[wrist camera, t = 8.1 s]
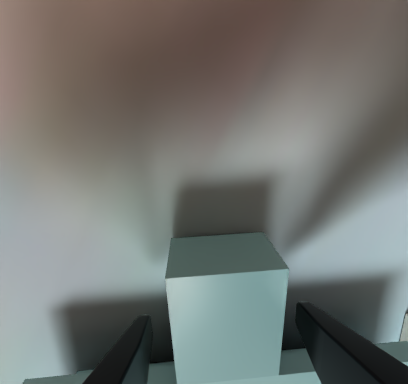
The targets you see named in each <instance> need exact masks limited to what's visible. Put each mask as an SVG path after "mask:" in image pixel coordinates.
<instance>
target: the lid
mask: <svg viewBox="0 0 408 384" xmlns="http://www.w3.org/2000/svg"><path fill="white" fill-rule="evenodd" d="M288 275H289V268H288V267H287V265H286V264H285V262H284V261H283V260H282V258H281V257H280V255H279V254H278V252H277V251H276V250H275V248H274V247H273V245H272V244H271V242H270V241H269V240H268V238H267V237H266V235H265V234H264V232H257V233H243V234H228V235H214V236H199V237H185V238H171V244H170V250H169V257H168V263H167V269H166V276H165V283H166V292H167V300H168V309H169V318H170V327H171V335H172V344H173V353H174V362H164V363H154V364H149V373H148V381H147V384H321V382H320V380H319V378H318V376H317V374H316V372H315V369H314V367H313V365H312V362H311V360H310V357H309V355H308V353H307V350H306V348H304V349H294V350H284V351H281V347H282V336H283V326H284V316H285V306H286V295H287V285H288ZM375 345H376V346H378V347H379V348H381V349H382V350H384V351H385V352H387V353H388V354H390V355H391V356H393V357H395V358H396V359H398V360H399V361H401V362H402V363H404V364H405V365H407V366H408V341H400V342H390V343H381V344H375ZM92 371H93V370H84V371H77V373H76V374H74V375H64V376H54V377H44V378H34V379H25V380H24V382H23V384H82V383H83V382H84V381H85V379H86V378H87V377H88V376H89V375H90V373H91V372H92Z"/></svg>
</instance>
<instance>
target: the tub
mask: <svg viewBox="0 0 408 384" xmlns="http://www.w3.org/2000/svg"><path fill="white" fill-rule="evenodd" d="M400 341H408V313H406V315H405V319H404V324H403V329H402V333H401V338H400Z"/></svg>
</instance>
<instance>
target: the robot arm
mask: <svg viewBox="0 0 408 384" xmlns="http://www.w3.org/2000/svg"><path fill="white" fill-rule="evenodd" d="M295 321H296V326H297V328H298V331H299V333H300V336H301V338H302V340H303V343H304V345H305V348H306V350H307V353H308V355H309V357H310V360H311V362H312V365H313V367H314V369H315V372H316V374H317V376H318V378H319V380H320V382H321V384H408V366H407V365H405V364H404V363H402V362H401V361H399V360H398V359H396V358H395V357H393V356H391V355H390V354H388V353H387V352H385V351H384V350H382V349H381V348H379V347H378V346H376V345H375V344H373V343H371V342H370V341H368V340H367V339H365V338H364V337H362V336H361V335H359V334H358V333H356V332H355V331H353V330H351V329H350V328H348V327H347V326H345V325H344V324H342V323H341V322H339V321H338V320H336V319H335V318H333V317H331V316H330V315H328V314H327V313H325V312H324V311H322V310H321V309H319V308H318V307H316V306H314V305H313V304H311V303H310V302H308V301H304V302H298V303H297V305H296V317H295ZM152 338H153V332H152V323H151V316H150V315H149V314H147V315H139V316H138V317H137V318H136V319H135V321H134V322H133V323H132V324H131V325H130V327H129V328H128V329H127V330H126V331H125V333H124V334H123V335H122V336H121V337H120V339H119V340H118V341H117V342H116V343H115V345H114V346H113V347H112V348H111V349H110V351H109V352H108V353H107V354H106V355H105V357H104V358H103V359H102V360H101V361H100V363H99V364H98V365H97V366H96V367H95V369H94V370H93V371H92V372H91V373H90V375H89V376H88V377H87V378H86V379H85V381H84V382H83V383H82V384H147V381H148V373H149V364H150V356H151V347H152Z"/></svg>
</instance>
